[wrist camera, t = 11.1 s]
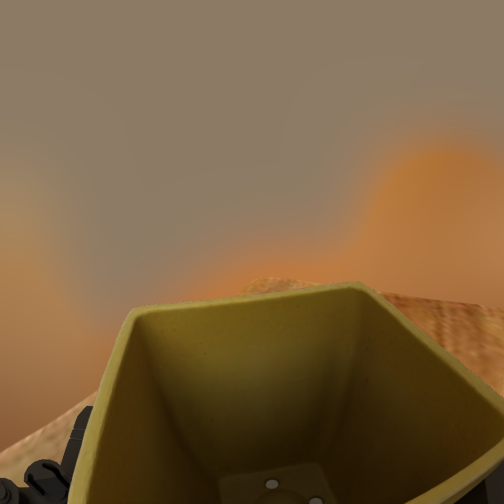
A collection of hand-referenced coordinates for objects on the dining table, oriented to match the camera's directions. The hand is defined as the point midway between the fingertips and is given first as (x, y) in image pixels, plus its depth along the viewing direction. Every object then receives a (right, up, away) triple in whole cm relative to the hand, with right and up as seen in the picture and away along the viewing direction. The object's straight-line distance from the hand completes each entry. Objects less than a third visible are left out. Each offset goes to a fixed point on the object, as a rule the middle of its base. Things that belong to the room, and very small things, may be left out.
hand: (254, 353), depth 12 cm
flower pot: (+1, -7, -2) cm, 8 cm away
